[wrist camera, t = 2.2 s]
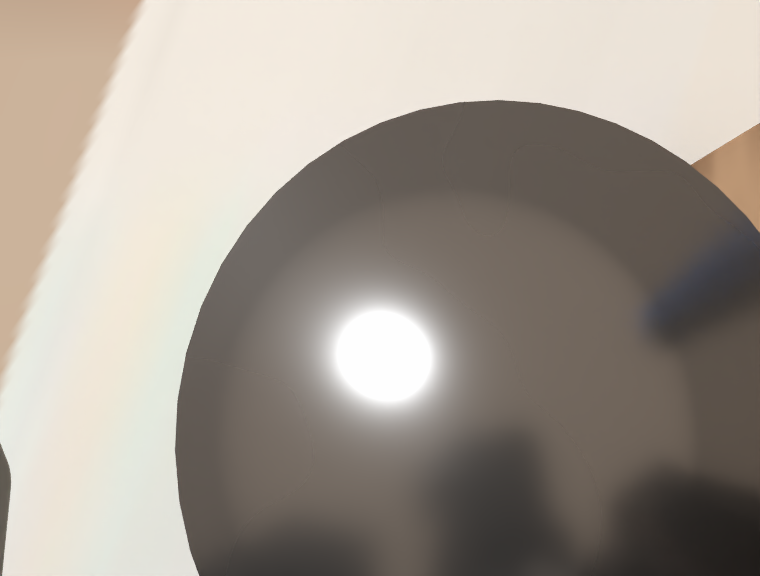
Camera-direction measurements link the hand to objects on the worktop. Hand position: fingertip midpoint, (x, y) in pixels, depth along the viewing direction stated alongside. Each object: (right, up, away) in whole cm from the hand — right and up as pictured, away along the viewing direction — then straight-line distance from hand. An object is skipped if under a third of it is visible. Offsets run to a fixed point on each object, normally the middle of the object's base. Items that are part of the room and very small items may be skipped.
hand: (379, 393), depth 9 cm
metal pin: (-1, -2, +7) cm, 7 cm away
